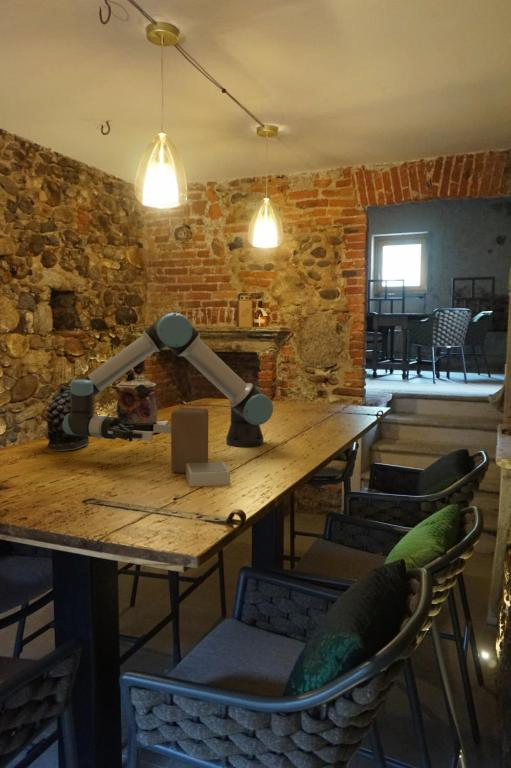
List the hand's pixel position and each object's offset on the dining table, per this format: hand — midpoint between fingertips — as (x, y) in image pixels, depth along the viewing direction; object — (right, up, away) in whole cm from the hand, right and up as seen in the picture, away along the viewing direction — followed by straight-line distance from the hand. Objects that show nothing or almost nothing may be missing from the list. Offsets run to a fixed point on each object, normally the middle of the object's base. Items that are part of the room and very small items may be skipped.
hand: (162, 433), depth 182 cm
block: (+9, -12, -2) cm, 16 cm away
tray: (+16, -13, -13) cm, 25 cm away
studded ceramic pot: (-41, -8, +30) cm, 51 cm away
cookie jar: (-23, -5, +69) cm, 73 cm away
